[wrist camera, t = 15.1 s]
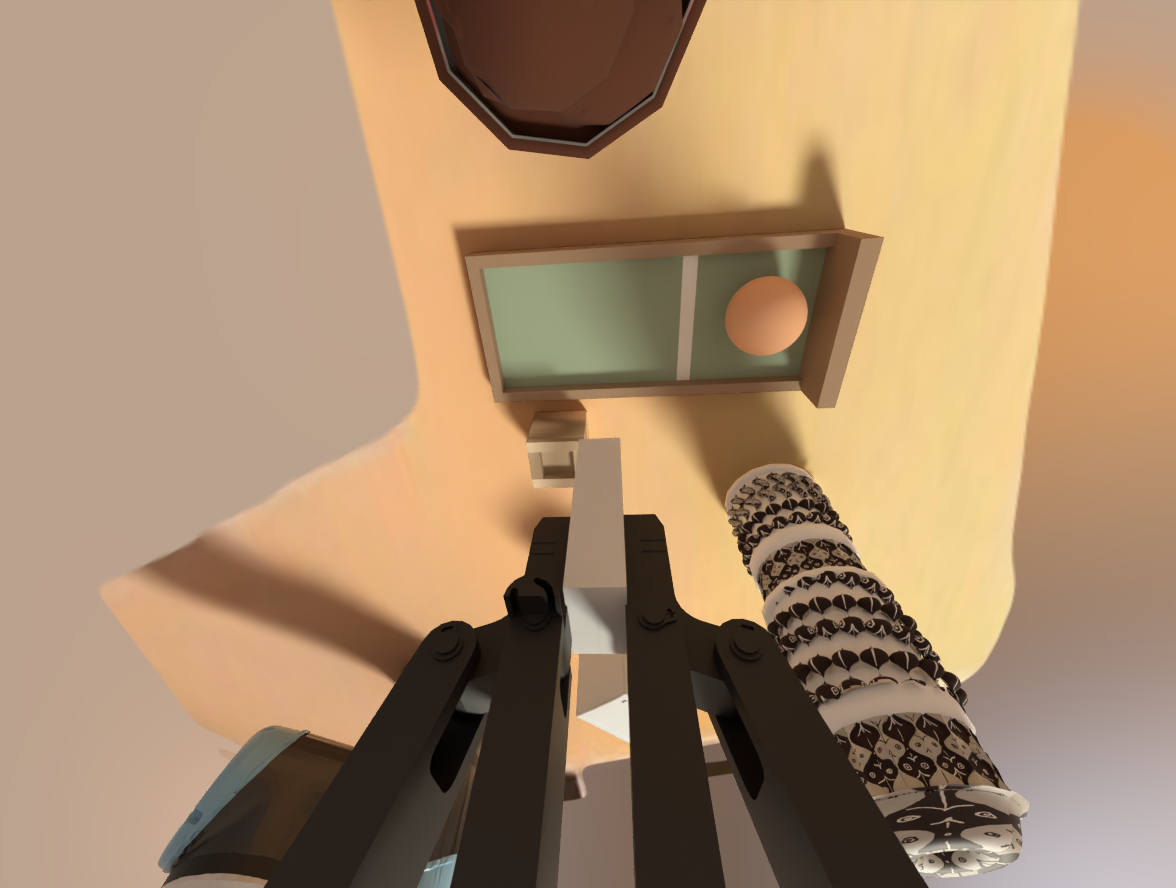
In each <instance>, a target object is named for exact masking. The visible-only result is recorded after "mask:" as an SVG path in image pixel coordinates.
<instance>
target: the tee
mask: <svg viewBox="0 0 1176 888" xmlns="http://www.w3.org/2000/svg"><path fill="white" fill-rule="evenodd" d="M579 439H589V435H588V422H587V411H563V412H536V413H535V415H534V418H533V422H532V425H531V428H530V431H529V435H528V438H527V441H526V446H527V452H528V458H529V463H530V469H531V475H532V481H533V487H534V488H568V487H574V481H575V471H576V462H577V453H578V444H579Z"/></svg>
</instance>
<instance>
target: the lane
mask: <svg viewBox="0 0 1176 888" xmlns="http://www.w3.org/2000/svg"><path fill="white" fill-rule="evenodd" d="M883 239H884V237H879V236H875V235H871V234H866V233H862V232H858V231H853V230H849V229H835V230H819V231H804V232H788V233H773V234H757V235H742V236H726V237H711V238H695V239H680V240H664V241H649V242H633V243H618V244H602V245H587V246H571V247H555V248H540V249H524V250H509V251H493V252H478V253H470V254H469V255H467V256H465V261H466V266H467V271H468V276H469V280H470V285H471V290H472V295H473V300H474V305H475V309H476V314H477V319H478V324H479V329H480V334H481V339H482V343H483V348H484V353H485V358H486V363H487V368H488V372H489V377H490V382H491V387H492V392H493V397H494V402H520V401H546V400H571V399H597V398H622V397H648V396H673V395H699V394H724V393H750V392H775V391H802V392H803V393H804V394H805V395H806V396H807V398H808V399H809V400H810V401H811V402H812V403H813V404H814V405H815V407H816V408H835V405H836V402H837V399H838V395H839V392H840V388H841V385H842V381H843V378H844V374H845V371H846V367H847V364H848V360H849V357H850V353H851V350H852V347H853V343H854V340H855V336H856V333H857V329H858V326H859V322H860V319H861V315H862V312H863V308H864V305H865V301H866V298H867V294H868V291H869V288H870V284H871V281H872V277H873V274H874V270H875V267H876V263H877V260H878V256H879V253H880V249H881V246H882V242H883ZM765 276H777V277H782V278H785V279H787V280H789V281H791V282H793V283H794V284H795V285H797V286H798V287H799V289H800V290H801V291H802V293H803V295H804V296H805V299H806V302H807V308H808V315H807V321H806V324H805V327H804V329H803V331H802V333H801V334H800V336H799V337H798V338H797V340H796V341H795V342H794V343H792V344H791V345H790V346H789V347H787V348H786V349H784V350H782V351H780V352H778V353H775V354H771V355H765V356H758V355H752V354H748V353H746V352H744V351H742V350H740V349H739V348H738V347H736V346H735V345H734V343H733V342H732V341H731V339H730V338H729V336H728V334H727V331H726V327H725V314H726V310H727V307H728V304H729V302H730V300H731V298H732V297H733V295H734V294H735V293H736V292H737V291H738V290H739V289H740V288H741V287H742V286H743V285H745V284H746V283H748V282H750V281H752V280H754V279H756V278H760V277H765Z"/></svg>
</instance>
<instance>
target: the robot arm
mask: <svg viewBox="0 0 1176 888" xmlns="http://www.w3.org/2000/svg"><path fill="white" fill-rule="evenodd" d="M531 543H532V544H531V547H530V552H529V557H528V562H527V566H526V571H525V575H524V576H522V577H520V578H518V579H516V580H515V581H514V582H513V583H512V584H511V585H510V586H509V587H508V588H507V590H506V592H505V594H504V596H503V597H504V600H505V604H506V608H507V612H508V615H507V616H505V617H504V618H502V619H500V620H498V621H496V622H493V623H490V624H487V625H484V626H481V627H477V628H474V629H473V628H472V626H471V625H469V624H467V623H465V622H463V621H450V622H447V623H444V624H441V625H440V626H438V627H437V628H435V629H433V630H432V631H431V632H430V633H429V634H428V635H427V637H426V638H425V639H424V640H423V642H422V643H421V645H420V646H419V648H418V649H417V651H416V653H415V654H414V656H413V657H412V659H411V660H410V662H409V663H408V665H407V666H406V667H405V668H404V670H403V672H402V674H401V676H400V677H399V679H398V680H397V682H396V683H395V685H394V687H393V688H392V690H391V691H390V693H389V694H388V696H387V697H386V699H385V700H384V702H383V704H382V705H381V707H380V708H379V710H378V711H377V713H376V714H375V716H374V717H373V719H372V721H371V722H370V724H369V725H368V727H367V728H366V730H365V731H364V733H363V734H362V736H361V738H360V739H359V741H358V742H357V744H356V745H355V747H353V746H350V745H347V744H344V743H340V742H337V741H334V740H331V739H327V738H324V737H321V736H318V735H315V734H311V733H310V731H308V730H303V731H298V730H294V729H290V728H286V727H282V726H269V727H266V728H264V729H262V730H260V731H259V732H257V733H256V734H255V735H254V736H253V737H252V738H251V739H250V740H249V741H248V742H247V743H246V744H245V745H244V746H243V747H242V748H241V750H240V751H239V752H238V753H237V754H236V755H235V757H234V758H233V759H232V760H231V761H230V763H229V764H228V765H227V766H226V768H225V769H224V770H223V771H222V773H221V774H220V775H219V777H218V778H217V779H216V780H215V782H214V783H213V784H212V786H211V787H210V788H209V789H208V791H207V792H206V793H205V795H204V796H203V797H202V799H201V800H200V801H199V803H198V804H197V805H196V807H195V809H194V811H193V812H192V813H191V814H190V815H189V817H188V818H187V819H186V821H185V822H184V824H183V825H182V826H181V827H180V828H179V830H178V831H177V833H176V834H175V835H174V837H173V838H172V840H171V841H170V842H169V844H168V845H167V847H166V849H165V850H164V852H163V853H162V855H161V857H160V859H159V862H158V865H159V867H160V868H162V869H163V872H164V873H170V874H169V876H168V878H167V879H166V881H165V882H164V884H163V886H162V887H161V888H557V882H558V866H559V852H560V839H561V823H562V810H563V795H564V781H565V767H566V752H567V738H568V723H569V709H570V694H571V680H572V674H571V666H570V660H571V647H572V654H627V685H628V710H629V737H630V765H631V793H632V819H633V820H632V821H633V848H634V876H635V888H725V881H724V875H723V869H722V863H721V856H720V851H719V844H718V838H717V832H716V826H715V820H714V814H713V808H712V802H711V795H710V789H709V783H708V777H707V771H706V764H705V758H704V752H703V746H702V740H701V734H700V728H699V722H698V715H697V709H700V710H703V711H705V712H708V714H709V717H710V719H711V722H712V724H713V726H714V729H715V731H716V734H717V736H718V739H719V741H720V743H721V746H722V748H723V750H724V753H725V756H726V758H727V760H728V763H729V765H730V768H731V770H732V773H733V775H734V777H735V780H736V782H737V785H738V787H739V790H740V792H741V794H742V797H743V799H744V802H745V804H746V807H747V809H748V811H749V814H750V816H751V819H752V821H753V824H754V826H755V828H756V831H757V833H758V836H759V838H760V840H761V843H762V845H763V848H764V850H765V853H766V855H767V857H768V860H769V862H770V864H771V867H772V869H773V872H774V875H775V877H776V879H777V882H778V884H779V887H780V888H928V886H927V884H926V883H925V881H924V880H923V878H922V876H921V875H920V873H919V871H918V870H917V868H916V867H915V865H914V863H913V862H912V860H911V859H910V857H909V855H908V854H907V852H906V851H905V849H904V847H903V846H902V844H901V843H900V841H899V839H898V838H897V836H896V835H895V833H894V831H893V830H892V828H891V827H890V825H889V823H888V822H887V820H886V819H885V817H884V815H883V814H882V812H881V810H880V809H879V807H878V806H877V804H876V802H875V801H874V799H873V798H872V796H871V794H870V793H869V791H868V790H867V788H866V786H865V785H864V783H863V782H862V780H861V778H860V777H859V775H858V774H857V772H856V770H855V769H854V767H853V766H852V764H851V762H850V761H849V759H848V758H847V756H846V754H845V753H844V751H843V749H842V748H841V746H840V745H839V743H838V741H837V740H836V738H835V737H834V735H833V733H832V732H831V730H830V729H829V727H828V725H827V724H826V722H825V721H824V719H823V717H822V716H821V714H820V713H819V711H818V709H817V708H816V706H815V705H814V703H813V701H812V700H811V698H810V697H809V695H808V693H807V692H806V690H805V688H804V687H803V685H802V684H801V682H800V680H799V679H798V677H797V676H796V674H795V672H794V671H793V669H792V668H791V666H790V664H789V663H788V661H787V660H786V658H785V656H784V655H783V653H782V652H781V650H780V648H779V647H778V645H777V644H776V642H775V640H774V639H773V638H772V636H771V635H770V634H769V633H768V632H767V631H766V629H764V628H763V627H761V626H760V625H758V624H756V623H755V622H752V621H749V620H745V619H731V620H729V621H727V622H725V623H723V624H722V625H721V626H717V625H713V624H710V623H707V622H703V621H701V620H698V619H696V618H693V617H692V616H690V615H689V614H687V613H686V612H685V611H684V610H683V609H682V608H681V607H680V605H679V604H678V602H677V600H676V597H675V594H674V588H673V582H672V576H671V569H670V563H669V557H668V550H667V544H666V538H665V531H664V526H663V524H662V523H661V522H660V520H659V519H658V518H657V516H656V515H655V514H642V515H623V496H622V474H621V452H620V438H602V439H579V444H578V453H577V462H576V471H575V481H574V490H573V499H572V508H571V517H543V518H542V520H541V521H540V522H539V524H538V525H537V526H536V528H535V529H534V533H533V538H532V542H531ZM696 708H697V709H696ZM451 880H452V881H451ZM450 884H451V885H450Z"/></svg>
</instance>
